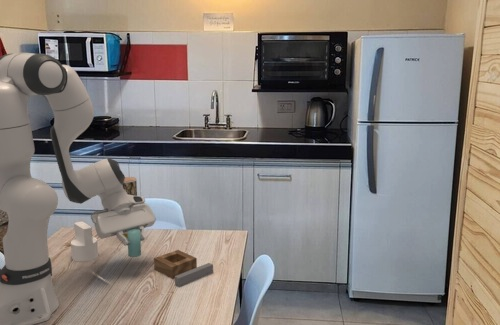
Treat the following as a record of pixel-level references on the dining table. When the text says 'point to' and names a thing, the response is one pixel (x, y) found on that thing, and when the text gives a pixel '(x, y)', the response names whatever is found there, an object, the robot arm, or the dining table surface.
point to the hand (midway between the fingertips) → (135, 242)
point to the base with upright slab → (83, 243)
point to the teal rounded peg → (134, 243)
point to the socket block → (174, 263)
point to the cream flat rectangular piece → (193, 274)
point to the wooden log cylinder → (130, 190)
